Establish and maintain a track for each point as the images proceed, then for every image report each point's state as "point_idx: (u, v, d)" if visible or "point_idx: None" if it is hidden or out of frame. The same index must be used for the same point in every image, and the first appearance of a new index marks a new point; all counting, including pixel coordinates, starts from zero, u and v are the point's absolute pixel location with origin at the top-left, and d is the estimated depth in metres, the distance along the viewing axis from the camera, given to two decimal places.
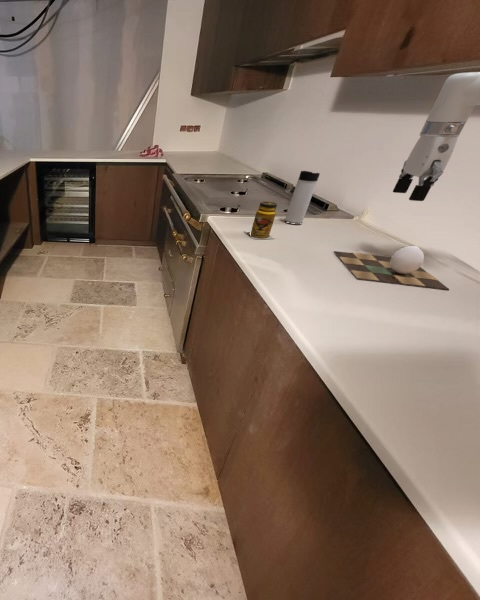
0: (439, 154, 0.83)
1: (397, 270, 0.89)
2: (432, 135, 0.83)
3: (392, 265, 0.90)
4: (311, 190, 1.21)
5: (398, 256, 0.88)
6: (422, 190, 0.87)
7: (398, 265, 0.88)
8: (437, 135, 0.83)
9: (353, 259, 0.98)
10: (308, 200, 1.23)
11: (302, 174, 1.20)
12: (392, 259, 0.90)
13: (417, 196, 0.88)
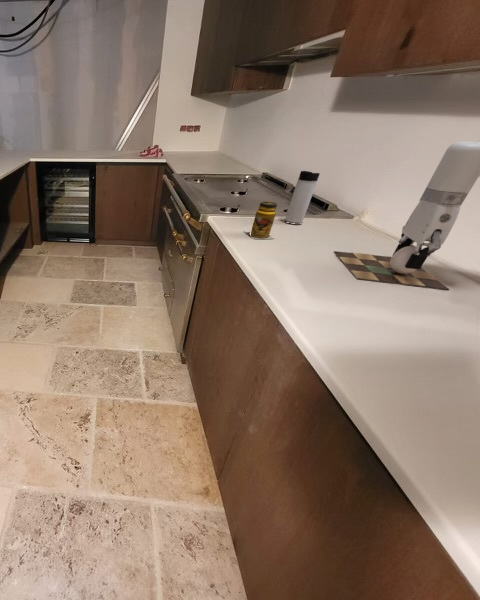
0: (441, 224, 0.78)
1: (397, 270, 0.89)
2: (433, 203, 0.79)
3: (392, 265, 0.90)
4: (311, 190, 1.21)
5: (398, 256, 0.88)
6: (418, 260, 0.84)
7: (398, 265, 0.88)
8: (439, 204, 0.78)
9: (353, 259, 0.98)
10: (308, 200, 1.23)
11: (302, 174, 1.20)
12: (392, 259, 0.90)
13: (413, 265, 0.85)
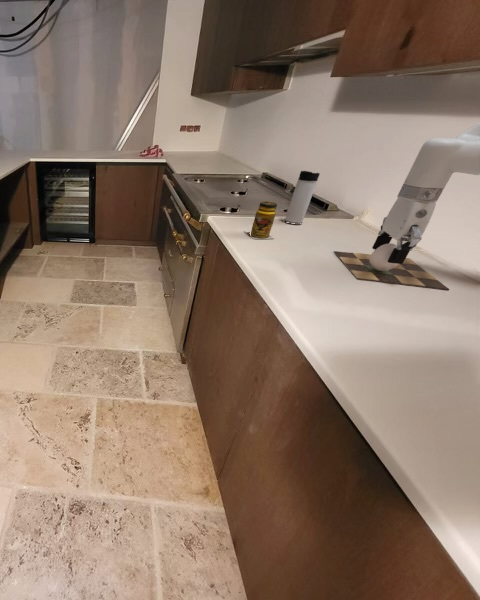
0: (417, 219, 0.79)
1: (376, 267, 0.90)
2: (410, 199, 0.80)
3: (371, 262, 0.91)
4: (311, 190, 1.21)
5: (376, 254, 0.89)
6: (400, 254, 0.83)
7: (376, 263, 0.89)
8: (415, 200, 0.79)
9: (353, 259, 0.98)
10: (308, 200, 1.23)
11: (302, 174, 1.20)
12: (371, 256, 0.91)
13: (395, 259, 0.84)
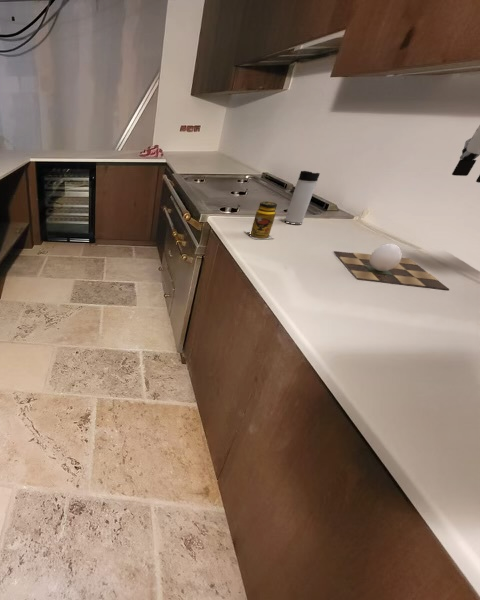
0: None
1: (376, 267, 0.90)
2: None
3: (371, 262, 0.91)
4: (311, 190, 1.21)
5: (376, 254, 0.89)
6: None
7: (376, 263, 0.89)
8: None
9: (353, 259, 0.98)
10: (308, 200, 1.23)
11: (302, 174, 1.20)
12: (371, 257, 0.91)
13: None
